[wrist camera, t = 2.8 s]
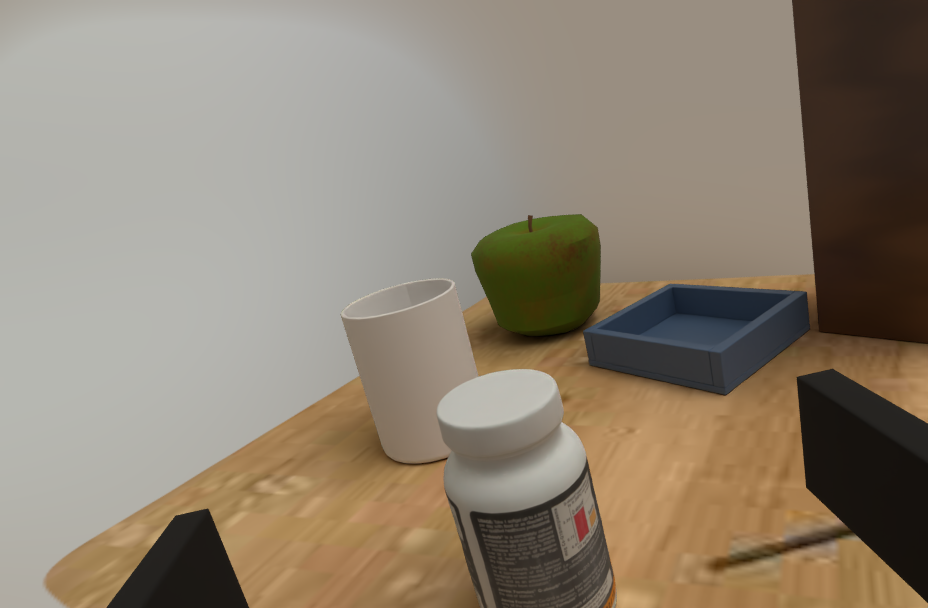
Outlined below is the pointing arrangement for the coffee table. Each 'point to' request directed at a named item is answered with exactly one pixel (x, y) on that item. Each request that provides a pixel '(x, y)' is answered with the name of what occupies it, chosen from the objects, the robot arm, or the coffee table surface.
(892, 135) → the stand
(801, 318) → the blue tray
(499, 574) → the pill bottle
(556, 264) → the apple
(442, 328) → the mug
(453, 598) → the coffee table surface
